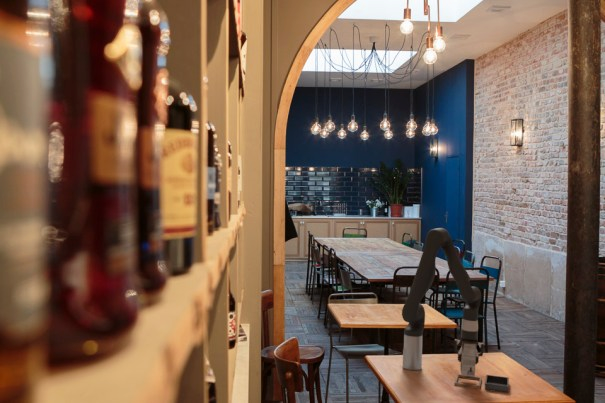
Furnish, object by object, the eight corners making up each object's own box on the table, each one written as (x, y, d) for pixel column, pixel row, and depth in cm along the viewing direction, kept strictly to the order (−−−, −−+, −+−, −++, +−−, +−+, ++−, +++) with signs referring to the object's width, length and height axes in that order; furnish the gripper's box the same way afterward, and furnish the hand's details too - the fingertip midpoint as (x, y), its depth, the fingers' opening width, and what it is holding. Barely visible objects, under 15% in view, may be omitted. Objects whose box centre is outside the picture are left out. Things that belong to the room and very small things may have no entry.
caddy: (484, 389, 257) (485, 383, 257) (486, 380, 270) (486, 374, 270) (508, 393, 254) (508, 386, 254) (508, 383, 266) (508, 377, 266)
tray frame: (454, 385, 262) (454, 382, 262) (457, 376, 275) (457, 374, 275) (480, 388, 258) (480, 386, 258) (481, 379, 271) (481, 377, 271)
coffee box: (459, 369, 272) (461, 336, 272) (473, 370, 271) (475, 338, 270) (461, 375, 263) (463, 342, 263) (475, 377, 262) (477, 343, 261)
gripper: (453, 328, 265) (451, 362, 266) (485, 332, 260) (483, 367, 261) (454, 324, 272) (453, 358, 273) (485, 328, 267) (484, 362, 268)
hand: (468, 362), depth 267 cm, fingers closed on coffee box, 7 cm apart
